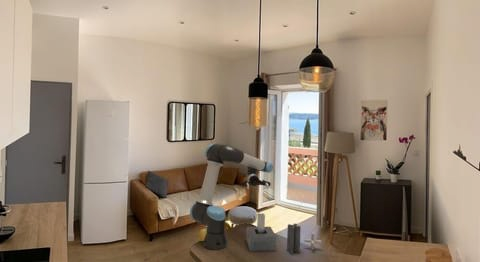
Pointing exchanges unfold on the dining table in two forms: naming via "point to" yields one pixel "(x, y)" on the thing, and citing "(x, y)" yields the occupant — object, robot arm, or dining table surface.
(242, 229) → the dining table surface
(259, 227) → the square bit
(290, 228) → the cross bit
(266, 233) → the bore block
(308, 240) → the pipe connector
